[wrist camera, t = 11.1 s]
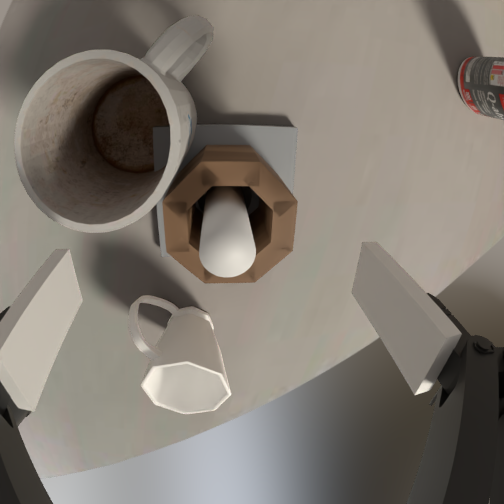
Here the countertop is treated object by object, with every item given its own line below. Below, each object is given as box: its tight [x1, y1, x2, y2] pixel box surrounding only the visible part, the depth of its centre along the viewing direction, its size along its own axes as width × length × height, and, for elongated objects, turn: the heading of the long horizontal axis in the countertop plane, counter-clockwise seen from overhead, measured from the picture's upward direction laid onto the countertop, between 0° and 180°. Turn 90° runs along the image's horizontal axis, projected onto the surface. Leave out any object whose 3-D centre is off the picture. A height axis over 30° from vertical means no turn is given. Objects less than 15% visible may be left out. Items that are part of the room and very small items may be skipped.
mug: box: [14, 15, 214, 233], centre depth 16 cm, size 12×9×10 cm
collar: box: [162, 145, 298, 283], centre depth 20 cm, size 7×7×6 cm
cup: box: [129, 295, 231, 414], centre depth 25 cm, size 7×10×8 cm
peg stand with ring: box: [153, 124, 298, 277], centre depth 19 cm, size 10×10×10 cm
